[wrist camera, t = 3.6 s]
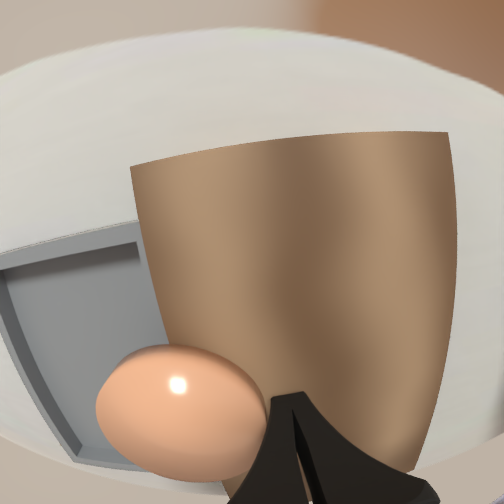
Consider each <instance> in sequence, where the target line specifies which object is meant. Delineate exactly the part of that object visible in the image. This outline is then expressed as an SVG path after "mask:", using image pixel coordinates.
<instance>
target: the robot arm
mask: <svg viewBox="0 0 504 504" xmlns="http://www.w3.org/2000/svg"><path fill="white" fill-rule="evenodd" d="M270 400H271V406H270V414H269V419H268V423H267V427H266V431H265V434H264V438H263V440H262V443H261V446H260V448H259V451H258V453H257V456H256V458H255V460H254V462H253V464H252V466H251V468H250V470H249V472H248V474H247V475H246V477H245V479H244V480H243V482H242V484H241V485H240V487H239V488H238V490H237V491H236V492H235V494H234V495H233V496H232V498H231V499H230V500H229V502H228V503H227V504H309V502H308V498H307V494H306V490H305V486H304V482H303V478H302V474H301V470H300V466H299V462H298V457H297V453H298V456H299V460H300V463H301V466H302V469H303V472H304V475H305V478H306V481H307V484H308V487H309V490H310V494H311V497H312V502H313V504H439V503H440V499H439V497H438V495H437V493H436V492H435V491H434V489H433V488H432V487H431V486H430V484H429V483H428V482H427V481H426V480H424V479H420V478H417V477H414V476H411V475H408V474H406V473H403V472H401V471H398V470H396V469H394V468H392V467H389V466H388V465H386V464H384V463H382V462H380V461H378V460H376V459H375V458H373V457H371V456H369V455H368V454H366V453H365V452H363V451H362V450H360V449H359V448H358V447H356V446H355V445H353V444H352V443H351V442H350V441H348V440H347V439H346V438H345V437H344V436H343V435H341V434H340V433H339V432H338V431H337V430H336V429H335V428H334V427H333V426H332V425H331V424H330V423H329V422H328V421H327V420H326V419H325V418H324V417H323V415H322V414H321V413H320V412H319V411H318V409H317V408H316V407H315V406H314V404H313V403H312V402H311V400H310V399H309V397H308V396H307V394H306V393H305V392H304V391H301V392H296V393H291V394H285V395H279V396H273V397H272V398H271V399H270ZM490 504H504V494H503V495H502V496H500V497H499V498H497V499H496V500H495V501H493V502H492V503H490Z"/></svg>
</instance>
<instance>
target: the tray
mask: <svg viewBox="0 0 504 504" xmlns="http://www.w3.org/2000/svg"><path fill="white" fill-rule="evenodd" d="M0 333H1V335H2V338H3V340H4V343H5V345H6V347H7V350H8V352H9V354H10V356H11V359H12V361H13V363H14V365H15V367H16V369H17V371H18V373H19V375H20V377H21V379H22V381H23V383H24V385H25V387H26V389H27V391H28V393H29V394H30V396H31V398H32V400H33V402H34V403H35V405H36V407H37V409H38V410H39V412H40V414H41V415H42V417H43V418H44V420H45V422H46V423H47V425H48V426H49V428H50V429H51V431H52V432H53V434H54V435H55V437H56V438H57V440H58V441H59V443H60V444H61V445H62V447H63V448H64V450H65V451H66V452H67V454H68V455H69V456H70V458H71V459H72V460H73V462H76V463H81V464H86V465H92V466H98V467H105V468H112V469H120V470H128V471H139V472H149V471H147V470H145V469H143V468H141V467H139V466H137V465H136V464H134V463H133V462H131V461H129V460H128V459H127V458H125V457H124V456H123V455H122V454H120V453H119V452H118V451H117V450H116V449H115V448H114V447H113V446H112V445H111V443H110V442H109V441H108V440H107V438H106V437H105V435H104V434H103V432H102V430H101V428H100V426H99V423H98V421H97V416H96V400H97V397H98V394H99V392H100V390H101V388H102V387H103V385H104V384H105V382H106V380H107V379H108V377H109V376H110V374H111V373H112V371H113V369H114V368H115V367H116V365H117V364H118V363H119V362H120V361H121V360H122V359H123V358H124V357H125V356H127V355H128V354H130V353H132V352H134V351H136V350H138V349H141V348H144V347H148V346H153V345H159V344H169V341H168V338H167V335H166V331H165V328H164V324H163V321H162V317H161V314H160V310H159V306H158V302H157V299H156V295H155V291H154V287H153V283H152V279H151V275H150V270H149V266H148V262H147V257H146V253H145V248H144V244H143V239H142V234H141V229H140V224H139V220H134V221H129V222H125V223H120V224H116V225H111V226H106V227H102V228H98V229H93V230H89V231H85V232H80V233H76V234H72V235H68V236H64V237H60V238H56V239H52V240H48V241H44V242H40V243H36V244H33V245H29V246H25V247H22V248H18V249H14V250H11V251H7V252H4V253H0Z"/></svg>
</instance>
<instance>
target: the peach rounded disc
mask: <svg viewBox="0 0 504 504" xmlns="http://www.w3.org/2000/svg"><path fill="white" fill-rule="evenodd" d="M96 416H97V421H98V423H99V426H100V428H101V430H102V432H103V434H104V435H105V437H106V438H107V440H108V441H109V442H110V443H111V445H112V446H113V447H114V448H115V449H116V450H117V451H118V452H119V453H120V454H122V455H123V456H124V457H125V458H127V459H128V460H129V461H131V462H133V463H134V464H136V465H137V466H139V467H141V468H143V469H145V470H147V471H149V472H152V473H154V474H157V475H160V476H163V477H166V478H170V479H174V480H179V481H186V482H214V481H221V480H225V479H229V478H232V477H235V476H238V475H240V474H242V473H244V472H246V471H247V470H249V469H250V468H251V466H252V464H253V462H254V460H255V458H256V456H257V453H258V451H259V448H260V446H261V443H262V440H263V438H264V434H265V431H266V427H267V415H266V406H265V401H264V398H263V395H262V393H261V391H260V389H259V387H258V386H257V384H256V383H255V382H254V380H253V379H252V378H251V377H250V376H249V375H248V374H247V373H246V372H245V371H244V370H242V369H241V368H240V367H239V366H237V365H236V364H234V363H233V362H231V361H230V360H228V359H226V358H224V357H222V356H220V355H218V354H215V353H213V352H210V351H208V350H204V349H201V348H197V347H192V346H187V345H178V344H159V345H153V346H148V347H144V348H141V349H138V350H136V351H134V352H132V353H130V354H128V355H127V356H125V357H124V358H123V359H122V360H121V361H120V362H119V363H118V364H117V365H116V367H115V368H114V369H113V371H112V373H111V374H110V376H109V377H108V379H107V380H106V382H105V384H104V385H103V387H102V388H101V390H100V392H99V394H98V397H97V400H96Z"/></svg>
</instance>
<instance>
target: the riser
mask: <svg viewBox="0 0 504 504" xmlns="http://www.w3.org/2000/svg"><path fill="white" fill-rule="evenodd" d="M130 171H131V177H132V184H133V190H134V196H135V202H136V208H137V213H138V219H139V224H140V229H141V234H142V239H143V244H144V248H145V253H146V257H147V262H148V266H149V270H150V275H151V279H152V283H153V287H154V291H155V295H156V299H157V302H158V306H159V310H160V314H161V317H162V321H163V324H164V328H165V331H166V335H167V338H168V341H169V344H178V345H187V346H192V347H197V348H201V349H204V350H208V351H210V352H213V353H215V354H218V355H220V356H222V357H224V358H226V359H228V360H230V361H231V362H233V363H234V364H236V365H237V366H239V367H240V368H241V369H242V370H244V371H245V372H246V373H247V374H248V375H249V376H250V377H251V378H252V379H253V380H254V382H255V383H256V384H257V386H258V387H259V389H260V391H261V393H262V395H263V398H264V401H265V406H266V415H267V423H268V419H269V414H270V406H271V400H270V399H271V398H272V397H273V396H279V395H285V394H291V393H296V392H301V391H304V392H305V393H306V394H307V396H308V397H309V399H310V400H311V402H312V403H313V404H314V406H315V407H316V408H317V409H318V411H319V412H320V413H321V414H322V415H323V417H324V418H325V419H326V420H327V421H328V422H329V423H330V424H331V425H332V426H333V427H334V428H335V429H336V430H337V431H338V432H339V433H340V434H341V435H343V436H344V437H345V438H346V439H347V440H348V441H350V442H351V443H352V444H353V445H355V446H356V447H358V448H359V449H360V450H362V451H363V452H365V453H366V454H368V455H369V456H371V457H373V458H375V459H376V460H378V461H380V462H382V463H384V464H386V465H388V466H389V467H392V468H394V469H396V470H398V471H401V472H403V473H407V472H410V471H412V470H414V468H415V466H416V463H417V461H418V458H419V455H420V453H421V450H422V447H423V444H424V441H425V438H426V435H427V432H428V429H429V426H430V423H431V419H432V416H433V412H434V409H435V405H436V401H437V398H438V394H439V390H440V385H441V381H442V377H443V372H444V367H445V362H446V357H447V351H448V345H449V339H450V332H451V325H452V317H453V308H454V298H455V286H456V268H457V214H456V196H455V184H454V173H453V165H452V157H451V150H450V143H449V137H448V132H417V131H392V132H358V133H340V134H325V135H313V136H302V137H293V138H284V139H275V140H267V141H260V142H252V143H246V144H239V145H233V146H226V147H220V148H215V149H209V150H204V151H198V152H193V153H188V154H183V155H178V156H174V157H169V158H165V159H160V160H156V161H152V162H147V163H143V164H139V165H135V166H131V167H130ZM297 457H298V462H299V466H300V470H301V474H302V478H303V482H304V486H305V490H306V494H307V498H308V502H309V501H312V497H311V494H310V490H309V487H308V484H307V481H306V478H305V475H304V472H303V469H302V466H301V463H300V460H299V456H298V453H297ZM249 470H250V469H249ZM249 470H247V471H246V472H244V473H242V474H240V475H238V476H235V477H232V478H229V479H225V480H221V481H222V484H223V486H224V488H225V490H226V492H227V494H228V496H229V498H230V499H231V498H232V496H233V495H234V494H235V492H236V491H237V490H238V488H239V487H240V485H241V484H242V482H243V480H244V479H245V477H246V475H247V474H248V472H249Z"/></svg>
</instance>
